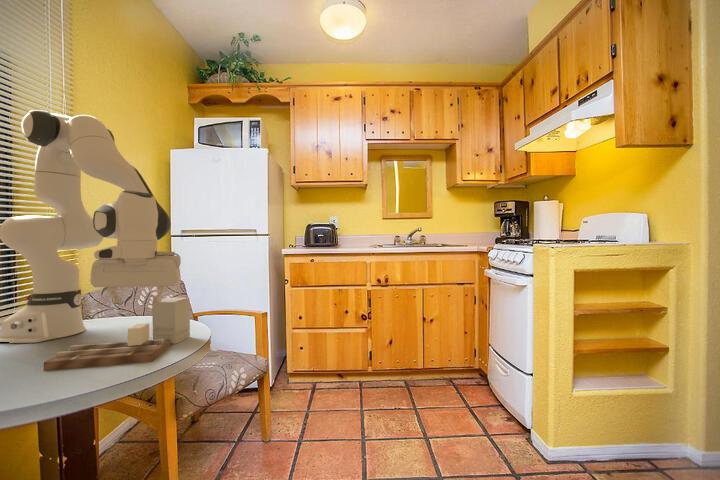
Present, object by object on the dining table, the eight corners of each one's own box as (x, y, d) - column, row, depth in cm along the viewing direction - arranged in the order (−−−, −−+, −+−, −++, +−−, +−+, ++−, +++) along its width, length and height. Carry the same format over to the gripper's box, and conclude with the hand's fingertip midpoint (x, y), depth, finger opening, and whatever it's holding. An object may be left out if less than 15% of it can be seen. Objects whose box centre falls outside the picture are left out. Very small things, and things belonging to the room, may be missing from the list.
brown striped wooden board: (43, 370, 75) (43, 357, 75) (77, 353, 86) (76, 342, 86) (152, 361, 80) (152, 349, 80) (170, 346, 91) (170, 335, 91)
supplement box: (190, 337, 100) (190, 297, 100) (175, 344, 93) (174, 301, 93) (169, 336, 101) (168, 297, 101) (151, 344, 94) (151, 301, 94)
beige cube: (123, 350, 81) (123, 329, 81) (132, 343, 86) (132, 324, 86) (145, 348, 82) (145, 327, 82) (153, 342, 87) (153, 322, 87)
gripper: (184, 251, 90) (183, 299, 90) (101, 250, 85) (101, 301, 85) (176, 252, 84) (176, 304, 84) (86, 251, 79) (86, 307, 79)
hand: (137, 303), depth 85 cm, fingers open, 8 cm apart
